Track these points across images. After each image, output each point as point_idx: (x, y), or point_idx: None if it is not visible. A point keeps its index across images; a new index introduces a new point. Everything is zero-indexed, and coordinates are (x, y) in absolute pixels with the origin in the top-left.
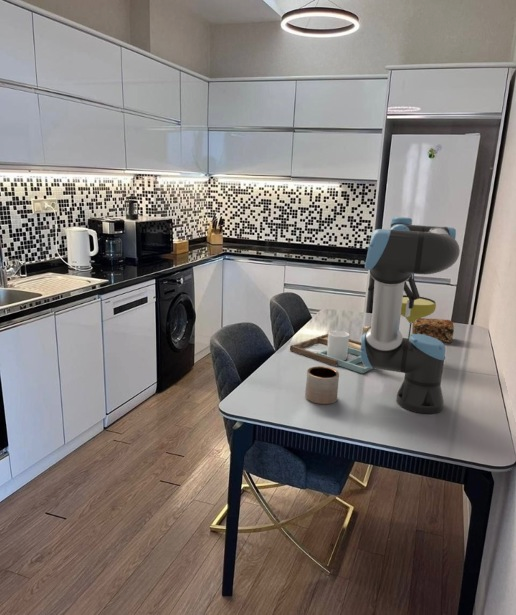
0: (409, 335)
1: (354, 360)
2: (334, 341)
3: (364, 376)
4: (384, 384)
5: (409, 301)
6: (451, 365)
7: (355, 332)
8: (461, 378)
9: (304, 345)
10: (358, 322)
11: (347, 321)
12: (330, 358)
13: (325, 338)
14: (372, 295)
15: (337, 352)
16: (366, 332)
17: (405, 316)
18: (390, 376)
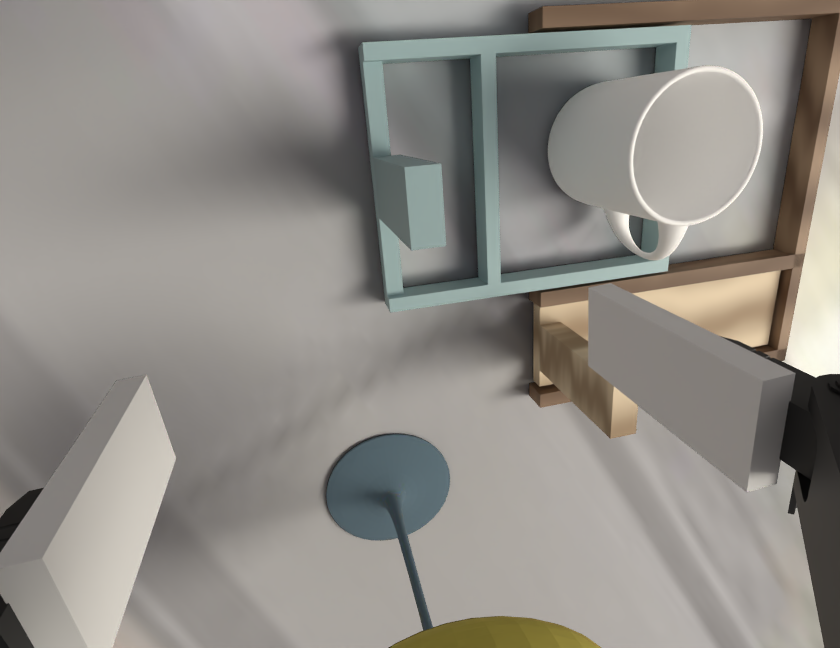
0: (408, 567)
1: (481, 132)
2: (662, 73)
3: (324, 23)
4: (166, 13)
5: (19, 574)
6: (175, 569)
7: (708, 507)
8: (14, 479)
9: (801, 127)
10: (756, 605)
11: (795, 575)
12: (588, 19)
13: (766, 297)
14: (791, 368)
15: (596, 93)
16: (595, 373)
17: (137, 377)
18: (238, 166)
